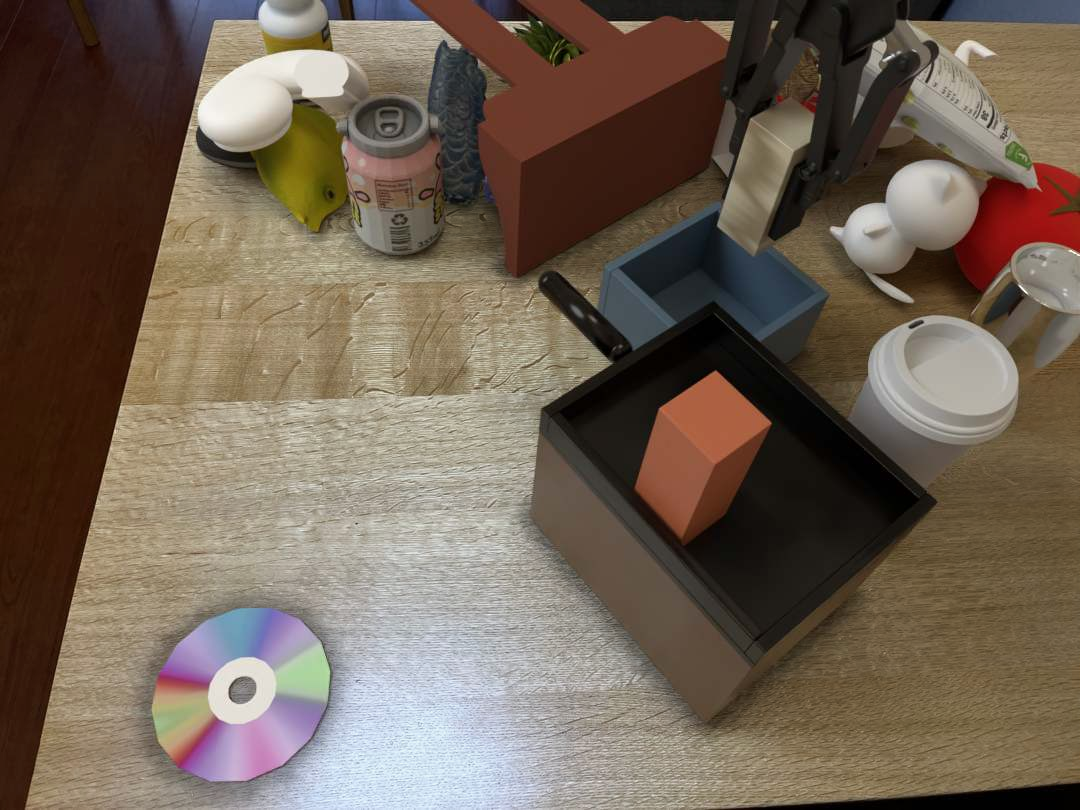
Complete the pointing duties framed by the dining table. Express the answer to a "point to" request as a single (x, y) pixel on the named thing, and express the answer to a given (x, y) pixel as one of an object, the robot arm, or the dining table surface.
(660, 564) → the pan
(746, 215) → the cream block
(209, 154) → the computer mouse
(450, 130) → the fish model
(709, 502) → the terracotta block
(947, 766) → the dining table surface
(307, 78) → the sculpture
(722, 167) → the red white patterned box
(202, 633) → the cd
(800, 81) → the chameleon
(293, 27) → the pill bottle
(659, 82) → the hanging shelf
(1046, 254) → the metal tumbler
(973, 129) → the frozen beans
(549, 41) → the potted plant
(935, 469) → the coffee cup
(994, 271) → the tomato
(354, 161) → the beverage can
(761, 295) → the bin
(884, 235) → the cat figurine
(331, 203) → the fish
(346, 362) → the dining table surface
